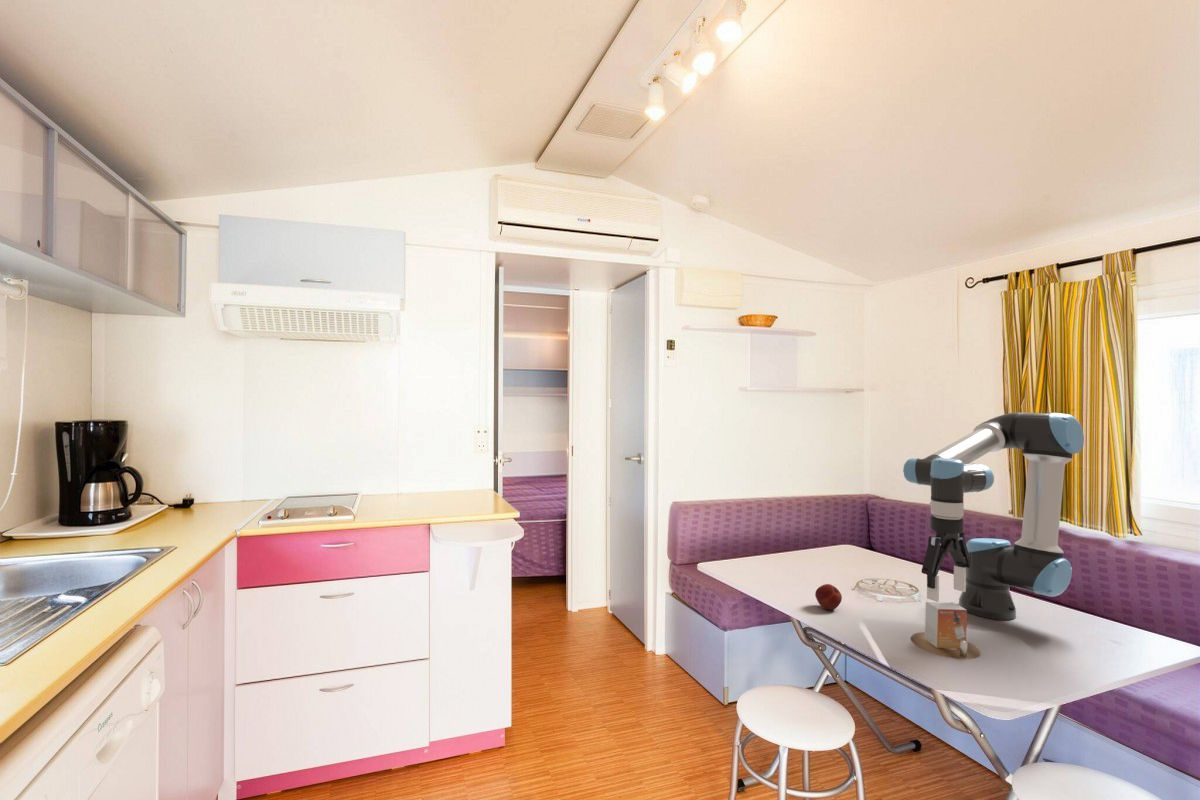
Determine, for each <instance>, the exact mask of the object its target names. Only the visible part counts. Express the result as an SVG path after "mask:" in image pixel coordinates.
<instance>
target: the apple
mask: <svg viewBox="0 0 1200 800" xmlns="http://www.w3.org/2000/svg"><path fill="white" fill-rule="evenodd" d="M842 596H843V595H842V593H841V592H840V590H839V589H838V588H837V587H836V586H834V585H832V584H830V583H826V584H825V583H824V584H823V585H820V586H818V588H817V589H816V590H815V595H814V597H815V599H816V601H817V603H818V604H819V606H820V607H821V608H823V609H824V610H828V611H832V610H835V609H837V608H838V607H839V606H840V604H841V603H842V599H843V597H842Z"/></svg>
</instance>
